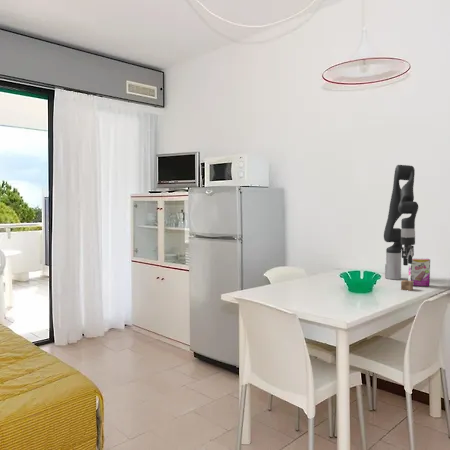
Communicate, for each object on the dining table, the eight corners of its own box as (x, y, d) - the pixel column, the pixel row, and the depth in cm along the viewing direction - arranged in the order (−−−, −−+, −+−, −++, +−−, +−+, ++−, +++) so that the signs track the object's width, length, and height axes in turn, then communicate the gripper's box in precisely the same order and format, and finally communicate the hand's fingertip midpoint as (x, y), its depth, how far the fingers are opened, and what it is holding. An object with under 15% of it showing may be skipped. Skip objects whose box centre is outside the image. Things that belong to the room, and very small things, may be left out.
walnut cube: (401, 289, 241) (401, 281, 241) (403, 288, 245) (404, 280, 245) (410, 291, 238) (410, 282, 238) (412, 289, 242) (413, 280, 242)
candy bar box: (410, 286, 251) (411, 259, 250) (407, 284, 256) (408, 258, 255) (430, 286, 250) (430, 259, 249) (427, 284, 255) (427, 258, 254)
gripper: (405, 235, 248) (404, 262, 249) (397, 236, 237) (397, 265, 238) (418, 235, 243) (418, 263, 244) (411, 237, 232) (410, 266, 233)
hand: (407, 264), depth 241 cm, fingers open, 8 cm apart
